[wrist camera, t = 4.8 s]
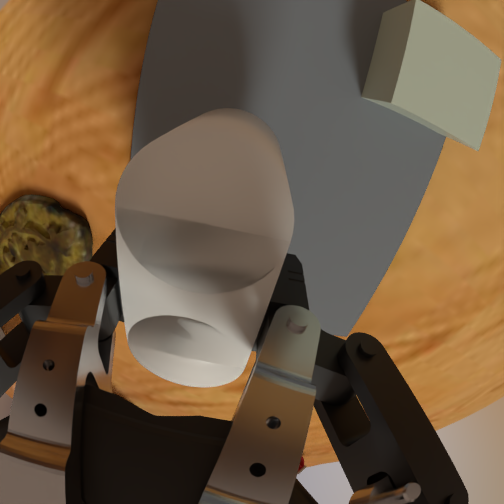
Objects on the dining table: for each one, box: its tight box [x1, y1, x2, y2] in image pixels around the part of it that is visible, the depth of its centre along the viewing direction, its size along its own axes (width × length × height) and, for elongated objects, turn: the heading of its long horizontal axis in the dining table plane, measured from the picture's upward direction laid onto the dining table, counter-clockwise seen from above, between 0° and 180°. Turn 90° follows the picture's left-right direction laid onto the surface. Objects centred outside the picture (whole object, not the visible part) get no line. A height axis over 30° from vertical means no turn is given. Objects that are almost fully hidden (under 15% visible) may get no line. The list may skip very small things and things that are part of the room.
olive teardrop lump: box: [0, 195, 93, 275], centre depth 16 cm, size 9×5×15 cm
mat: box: [131, 0, 446, 337], centre depth 14 cm, size 22×16×1 cm
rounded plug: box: [115, 108, 294, 387], centre depth 10 cm, size 12×4×5 cm, turn 168°
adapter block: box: [361, 0, 501, 151], centre depth 9 cm, size 5×5×4 cm
